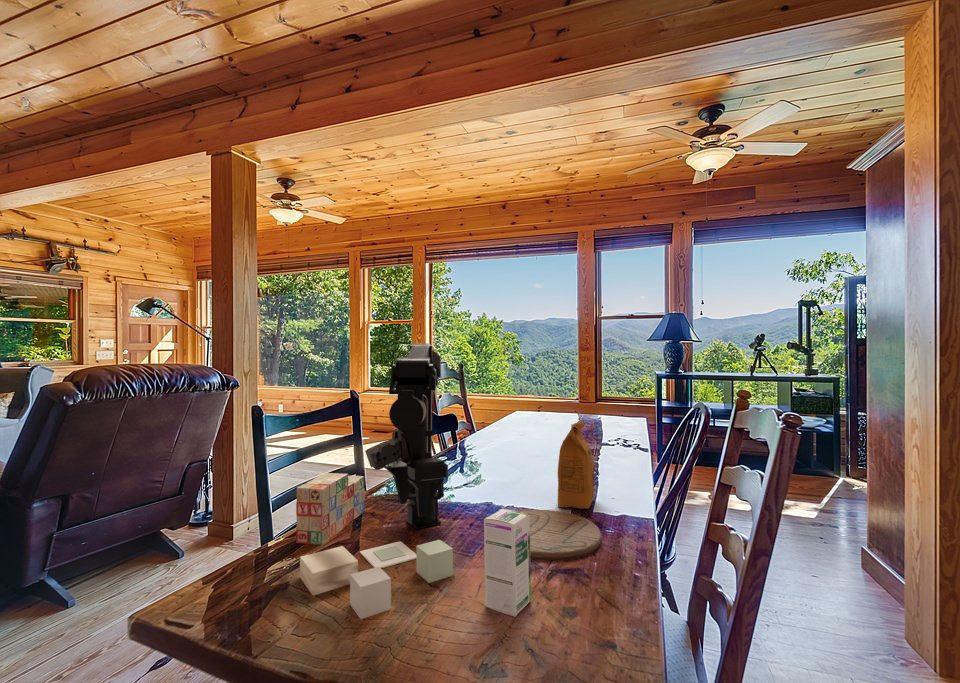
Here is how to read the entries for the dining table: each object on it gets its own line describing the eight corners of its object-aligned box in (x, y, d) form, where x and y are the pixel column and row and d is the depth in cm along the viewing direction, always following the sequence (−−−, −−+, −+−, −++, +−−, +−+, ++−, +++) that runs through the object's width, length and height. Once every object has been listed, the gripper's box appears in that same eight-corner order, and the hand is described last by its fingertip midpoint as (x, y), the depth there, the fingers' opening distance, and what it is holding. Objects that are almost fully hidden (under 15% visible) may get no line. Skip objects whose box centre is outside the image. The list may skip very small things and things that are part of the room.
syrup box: (515, 618, 71) (515, 524, 72) (483, 607, 74) (483, 517, 75) (531, 601, 76) (531, 513, 77) (500, 591, 79) (500, 506, 80)
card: (400, 542, 100) (400, 540, 100) (418, 557, 92) (418, 555, 92) (359, 552, 95) (359, 550, 95) (376, 569, 87) (376, 567, 87)
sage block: (439, 565, 89) (439, 539, 89) (452, 575, 85) (452, 548, 85) (416, 572, 86) (416, 545, 87) (428, 583, 82) (428, 555, 82)
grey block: (379, 596, 78) (379, 566, 78) (390, 609, 74) (390, 578, 74) (350, 605, 75) (350, 574, 75) (360, 619, 71) (360, 587, 71)
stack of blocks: (342, 510, 121) (343, 463, 121) (365, 511, 119) (365, 464, 120) (295, 543, 100) (296, 486, 100) (322, 546, 98) (322, 488, 99)
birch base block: (342, 566, 89) (342, 545, 89) (358, 583, 83) (358, 560, 83) (299, 578, 85) (300, 556, 85) (312, 597, 78) (312, 573, 78)
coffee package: (600, 499, 129) (599, 420, 129) (590, 513, 117) (589, 427, 118) (565, 495, 133) (564, 418, 133) (552, 508, 122) (552, 424, 122)
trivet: (611, 528, 109) (611, 520, 109) (582, 572, 87) (582, 562, 87) (515, 510, 121) (515, 503, 121) (468, 546, 99) (468, 537, 99)
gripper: (356, 422, 90) (355, 504, 89) (387, 432, 74) (386, 532, 73) (409, 419, 96) (409, 496, 95) (449, 428, 80) (449, 520, 79)
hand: (412, 509), depth 85 cm, fingers open, 9 cm apart
